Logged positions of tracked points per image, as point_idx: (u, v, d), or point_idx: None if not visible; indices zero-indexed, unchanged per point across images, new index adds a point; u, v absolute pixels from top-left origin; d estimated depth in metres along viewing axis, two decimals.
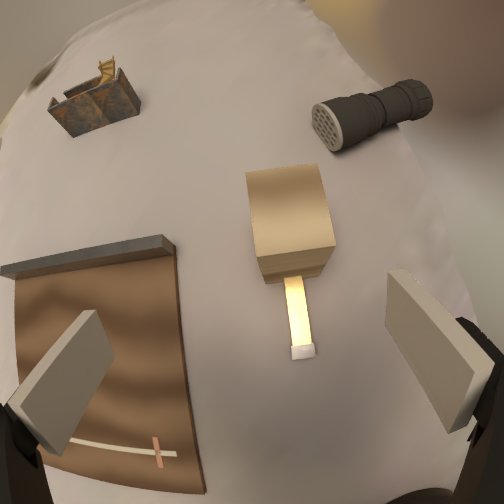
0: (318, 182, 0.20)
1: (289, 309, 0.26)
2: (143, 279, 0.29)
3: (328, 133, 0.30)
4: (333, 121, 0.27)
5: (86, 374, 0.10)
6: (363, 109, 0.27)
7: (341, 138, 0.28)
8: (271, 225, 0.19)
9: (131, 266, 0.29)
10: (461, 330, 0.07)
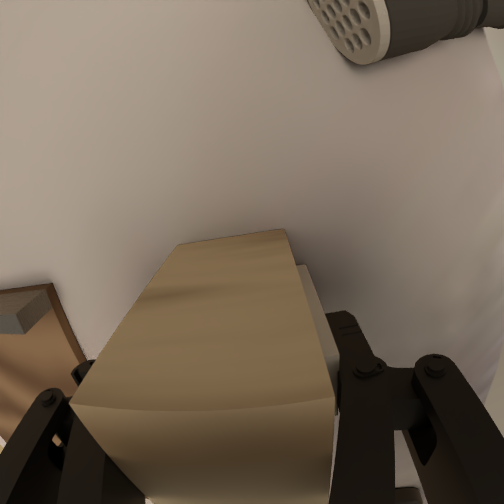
0: (320, 448, 0.05)
1: None
2: (31, 335, 0.15)
3: (344, 19, 0.09)
4: (372, 2, 0.06)
5: None
6: None
7: (384, 49, 0.08)
8: (185, 500, 0.06)
9: None
10: (323, 321, 0.09)
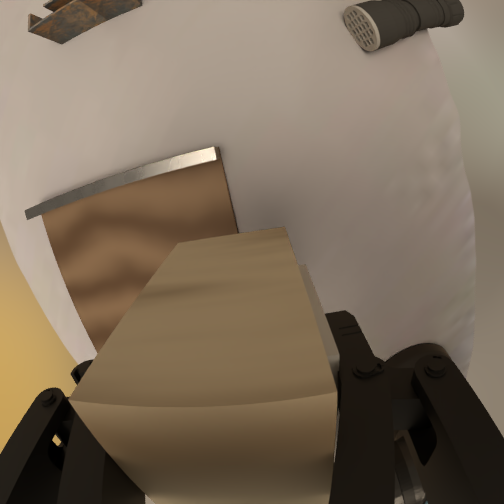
0: (322, 444, 0.05)
1: None
2: (192, 184, 0.30)
3: (362, 34, 0.23)
4: (373, 30, 0.21)
5: None
6: (401, 19, 0.20)
7: (378, 45, 0.22)
8: (185, 498, 0.06)
9: (176, 174, 0.30)
10: (323, 321, 0.09)
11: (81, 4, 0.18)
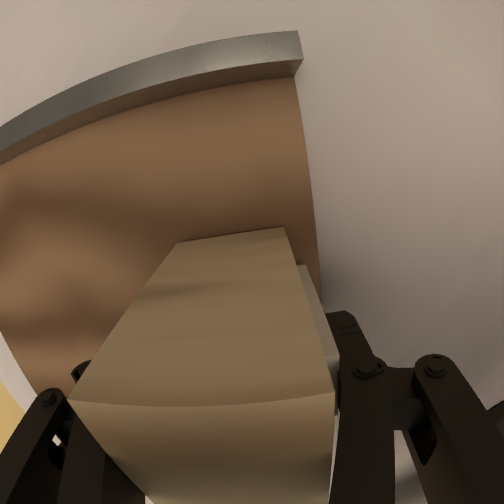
0: (320, 444, 0.05)
1: None
2: (224, 128, 0.13)
3: None
4: None
5: None
6: None
7: None
8: (184, 498, 0.06)
9: (190, 103, 0.12)
10: (323, 321, 0.09)
11: None
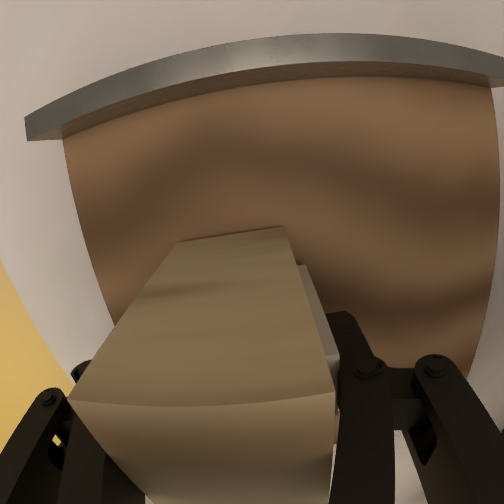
0: (320, 444, 0.05)
1: None
2: (456, 116, 0.12)
3: None
4: None
5: None
6: None
7: None
8: (184, 498, 0.06)
9: (433, 88, 0.12)
10: (323, 321, 0.09)
11: None
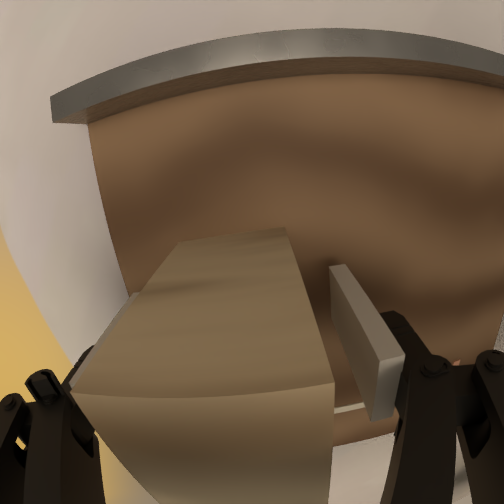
0: (320, 437, 0.05)
1: None
2: (483, 117, 0.12)
3: None
4: None
5: None
6: None
7: None
8: (185, 494, 0.06)
9: (462, 89, 0.11)
10: (380, 321, 0.09)
11: None
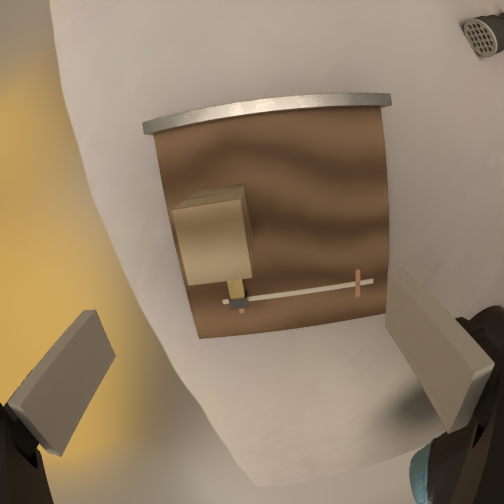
0: (239, 221, 0.22)
1: None
2: (353, 126, 0.28)
3: (480, 42, 0.22)
4: (494, 42, 0.19)
5: (86, 374, 0.10)
6: None
7: (494, 53, 0.21)
8: (198, 261, 0.23)
9: (339, 113, 0.28)
10: (461, 330, 0.07)
11: None
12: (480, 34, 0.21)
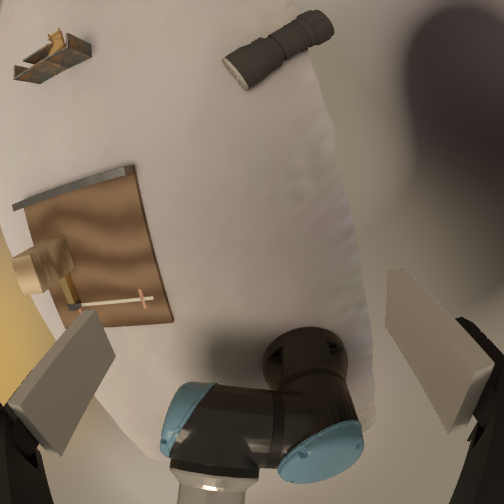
0: (31, 264, 0.35)
1: (62, 288, 0.45)
2: (116, 190, 0.41)
3: (237, 78, 0.35)
4: (237, 76, 0.32)
5: (86, 374, 0.10)
6: (263, 58, 0.32)
7: (246, 85, 0.34)
8: (23, 283, 0.36)
9: (107, 183, 0.41)
10: (461, 330, 0.07)
11: (47, 62, 0.29)
12: (231, 71, 0.34)
